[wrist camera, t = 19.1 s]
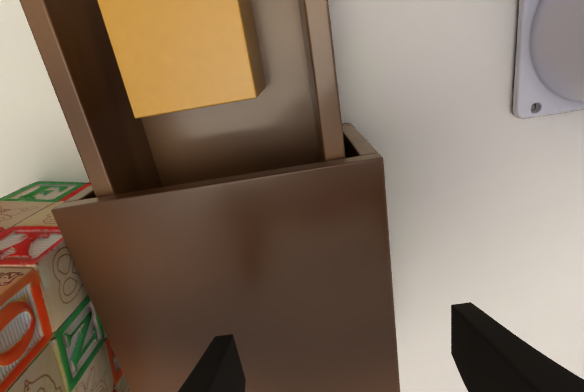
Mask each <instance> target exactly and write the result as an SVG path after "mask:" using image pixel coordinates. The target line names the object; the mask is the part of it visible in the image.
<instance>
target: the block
mask: <svg viewBox="0 0 584 392" xmlns="http://www.w3.org/2000/svg"><path fill="white" fill-rule="evenodd" d="M97 1H98V4H99V7H100V10H101V13H102V16H103V20H104V23H105V26H106V29H107V32H108V35H109V38H110V42H111V45H112V48H113V51H114V54H115V57H116V60H117V63H118V67H119V70H120V73H121V76H122V79H123V82H124V85H125V89H126V92H127V95H128V98H129V101H130V104H131V107H132V110H133V114H134V117H135V118H143V117H149V116H155V115H160V114H166V113H172V112H178V111H184V110H190V109H196V108H202V107H208V106H213V105H219V104H225V103H231V102H237V101H243V100H249V99H255V98H257V97H258V96H259V95H260V93H261V92H262V91H263V90H264V89H265V88H266V83H265V77H264V72H263V66H262V61H261V55H260V50H259V44H258V39H257V33H256V28H255V22H254V17H253V11H252V6H251V0H97Z"/></svg>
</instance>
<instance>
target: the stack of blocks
mask: <svg viewBox="0 0 584 392" xmlns="http://www.w3.org/2000/svg"><path fill="white" fill-rule="evenodd" d="M90 185H91V183H64V182H36V183H33V184H30V185H28V186H26V187H24V188H21V189H19V190H17V191H15V192H13V193H11V194H9V195H7V196H4V197H2V198H0V392H131V389H130V387H129V385H128V383H127V380H126V378H125V376H124V374H123V371H122V369H121V367H120V365H119V362H118V360H117V358H116V356H115V353H114V351H113V349H112V347H111V344H110V342H109V340H108V338H107V335H106V333H105V331H104V329H103V326H102V324H101V322H100V320H99V317H98V315H97V313H96V311H95V308H94V306H93V304H92V302H91V299H90V297H89V295H88V293H87V290H86V288H85V286H84V284H83V281H82V279H81V277H80V275H79V272H78V270H77V268H76V266H75V263H74V261H73V259H72V257H71V254H70V252H69V250H68V248H67V246H66V243H65V241H64V239H63V237H62V234H61V232H60V230H59V228H58V225H57V223H56V221H55V219H54V216H53V214H52V212H51V209H53V208H54V207H56V206H58V205H59V204H61V203H63V202H64V201H66V200H68V199H69V198H71V197H72V196H74V195H76V194H77V193H79V192H80V191H82V190H84V189H85V188H87V187H88V186H90Z"/></svg>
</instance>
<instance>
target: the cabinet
mask: <svg viewBox="0 0 584 392" xmlns="http://www.w3.org/2000/svg"><path fill="white" fill-rule="evenodd" d="M342 130H343V139H344V148H345V157H346V158H344V159H337V160H331V161H325V162H318V163H312V164H306V165H299V166H293V167H287V168H280V169H274V170H268V171H261V172H255V173H249V174H242V175H236V176H230V177H223V178H217V179H211V180H204V181H198V182H192V183H185V184H179V185H173V186H166V187H160V188H154V189H147V190H141V191H135V192H128V193H122V194H116V195H109V196H103V197H97V198H96V195H95V193H94V190H93V188H92V185H90V186H88V187H87V188H85V189H84V190H82V191H80V192H79V193H77V194H76V195H74V196H72V197H71V198H69V199H68V200H66V201H64V202H63V203H61V204H59V205H58V206H56V207H54V208H53V209H51V212H52V214H53V216H54V219H55V221H56V223H57V225H58V228H59V230H60V232H61V234H62V237H63V239H64V241H65V243H66V246H67V248H68V250H69V252H70V254H71V257H72V259H73V261H74V263H75V266H76V268H77V270H78V272H79V275H80V277H81V279H82V281H83V284H84V286H85V288H86V290H87V293H88V295H89V297H90V299H91V302H92V304H93V306H94V308H95V311H96V313H97V315H98V317H99V320H100V322H101V324H102V326H103V329H104V331H105V333H106V335H107V338H108V340H109V342H110V344H111V347H112V349H113V351H114V353H115V356H116V358H117V360H118V362H119V365H120V367H121V369H122V371H123V374H124V376H125V378H126V380H127V383H128V385H129V387H130V389H131V392H178V391H179V389H180V388H181V386H182V385H183V383H184V382H185V381H186V379H187V378H188V376H189V375H190V373H191V372H192V370H193V369H194V367H195V366H196V364H197V363H198V361H199V360H200V358H201V357H202V355H203V354H204V352H205V351H206V349H207V347H208V346H209V344H210V343H211V341H212V340H213V338H214V337H215V336H222V335H229V334H233V336H234V340H235V343H236V347H237V350H238V354H239V357H240V361H241V365H242V368H243V372H244V375H245V379H246V383H245V392H400V383H399V369H398V356H397V342H396V328H395V314H394V300H393V287H392V273H391V259H390V245H389V231H388V218H387V204H386V190H385V176H384V162H383V157H382V156H381V155H380V154H379V153H378V152H377V151H376V150H375V149H374V148H373V147H372V146H371V144H370V143H369V142H368V141H367V140H366V139H365V138H364V137H363V136H362V135H361V134H360V133H359V132H358V131H357V130H356V129H355V127H354V126H353V125H352V124H351V123H346V124H342Z"/></svg>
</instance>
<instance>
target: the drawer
mask: <svg viewBox="0 0 584 392" xmlns="http://www.w3.org/2000/svg"><path fill="white" fill-rule="evenodd" d="M20 3H21V5H22V8H23V10H24V13H25V16H26V18H27V21H28V23H29V26H30V28H31V31H32V34H33V36H34V39H35V41H36V44H37V46H38V49H39V52H40V54H41V57H42V59H43V62H44V64H45V67H46V70H47V72H48V75H49V77H50V80H51V82H52V85H53V88H54V90H55V93H56V95H57V98H58V100H59V103H60V106H61V108H62V111H63V113H64V116H65V118H66V121H67V124H68V126H69V129H70V131H71V134H72V136H73V139H74V142H75V144H76V147H77V149H78V152H79V154H80V157H81V160H82V162H83V165H84V167H85V170H86V172H87V175H88V178H89V180H90V183H91V185H92V188H93V190H94V193H95V195H96V198H97V197H103V196H109V195H116V194H122V193H128V192H135V191H141V190H147V189H154V188H160V187H166V186H173V185H179V184H185V183H192V182H198V181H204V180H211V179H217V178H223V177H230V176H236V175H242V174H249V173H255V172H261V171H268V170H274V169H280V168H287V167H293V166H299V165H306V164H312V163H318V162H325V161H331V160H337V159H344V158H346V157H345V148H344V139H343V130H342V121H341V112H340V104H339V95H338V86H337V77H336V68H335V59H334V50H333V41H332V32H331V23H330V14H329V5H328V0H251V6H252V11H253V17H254V22H255V28H256V33H257V39H258V44H259V50H260V55H261V61H262V66H263V72H264V77H265V83H266V88H265V89H264V90H263V91H262V92H261V93H260V95H259V96H258V97H257V98H255V99H249V100H243V101H237V102H231V103H225V104H219V105H213V106H208V107H202V108H196V109H190V110H184V111H178V112H172V113H166V114H160V115H155V116H149V117H143V118H135V117H134V114H133V110H132V107H131V104H130V101H129V98H128V95H127V92H126V89H125V85H124V82H123V79H122V76H121V73H120V70H119V67H118V63H117V60H116V57H115V54H114V51H113V48H112V45H111V42H110V38H109V35H108V32H107V29H106V26H105V23H104V20H103V16H102V13H101V10H100V7H99V4H98V1H97V0H20Z"/></svg>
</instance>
